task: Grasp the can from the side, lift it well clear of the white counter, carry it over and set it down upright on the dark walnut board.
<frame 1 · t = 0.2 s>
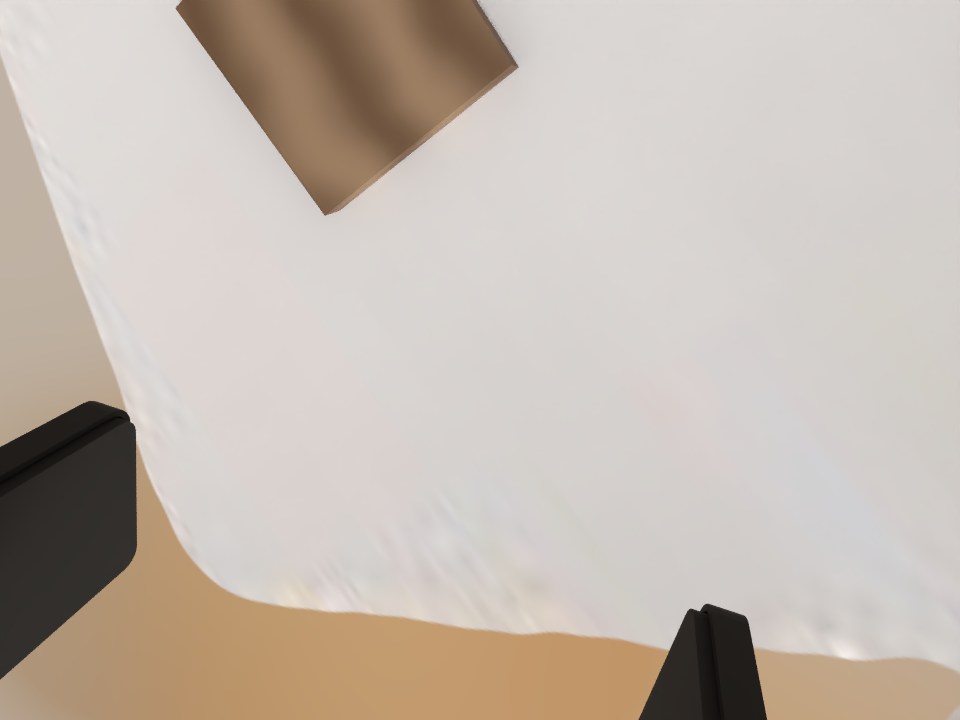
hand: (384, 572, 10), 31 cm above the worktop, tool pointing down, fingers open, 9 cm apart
walnut board: (351, 38, 37), on the worktop
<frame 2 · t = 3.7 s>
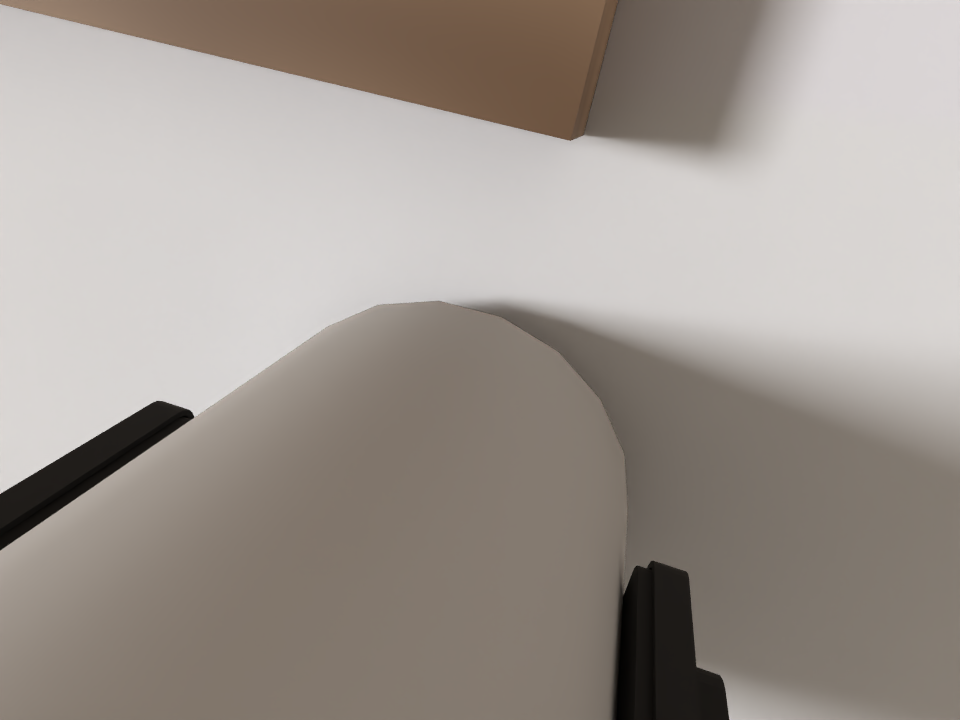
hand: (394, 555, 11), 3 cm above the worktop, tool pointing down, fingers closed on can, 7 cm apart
can: (452, 454, 14), on the worktop, touching gripper
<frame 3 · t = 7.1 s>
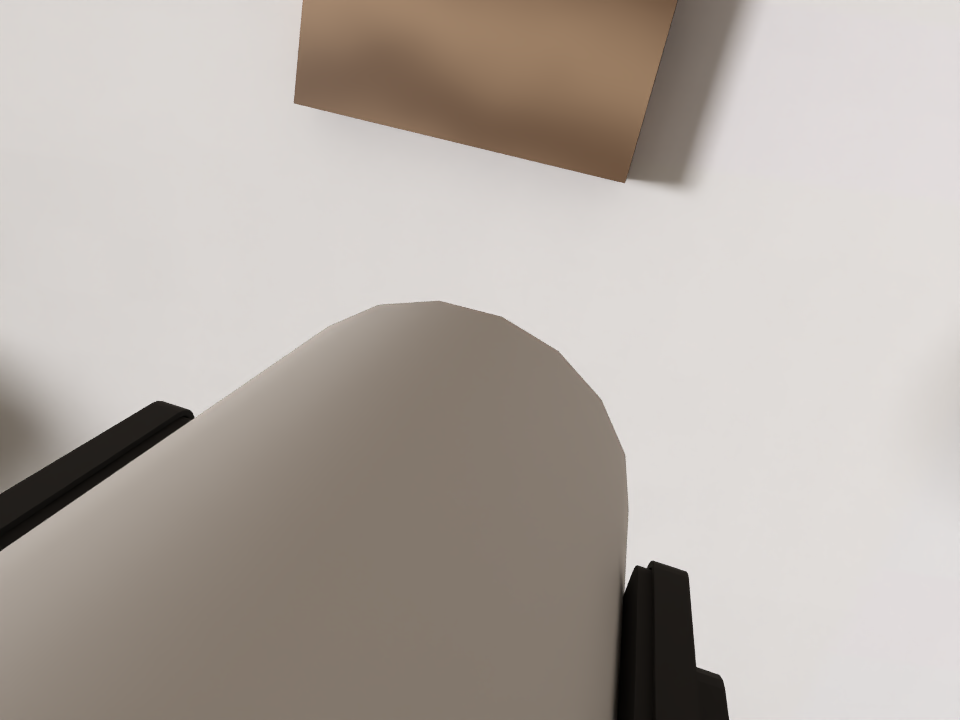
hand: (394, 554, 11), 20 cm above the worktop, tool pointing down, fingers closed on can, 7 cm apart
can: (453, 454, 14), point 16 cm above the worktop, touching gripper
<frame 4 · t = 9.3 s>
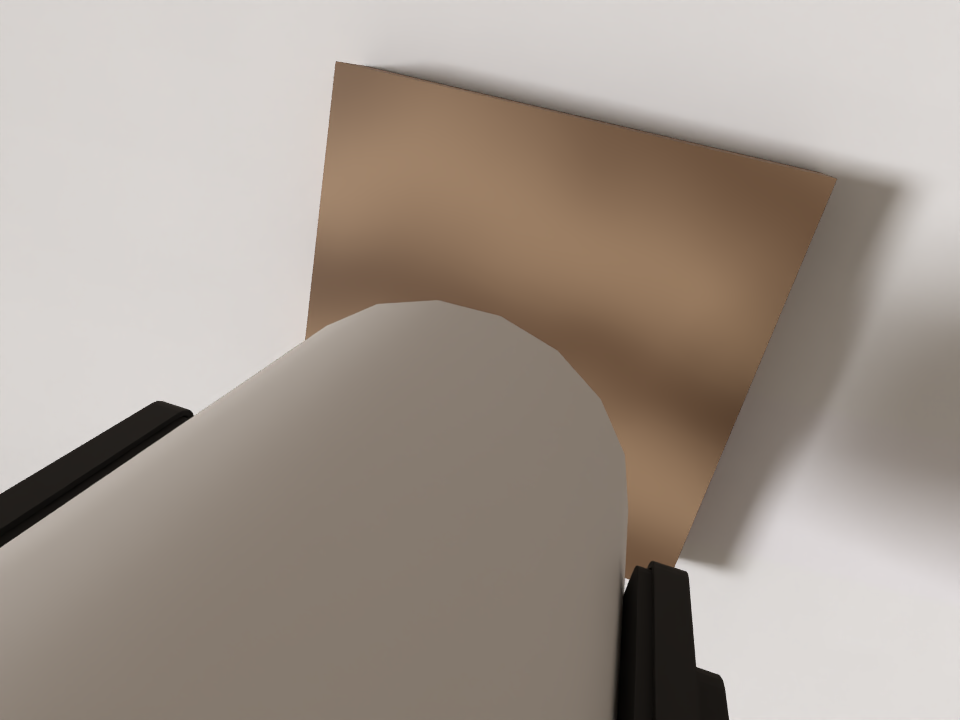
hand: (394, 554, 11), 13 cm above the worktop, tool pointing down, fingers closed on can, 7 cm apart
walnut board: (525, 329, 22), on the worktop
can: (452, 454, 14), point 9 cm above the worktop, touching gripper
when the fingers open (7 cm above the worktop, at t = 11.0 s): can drops 1 cm, resting on walnut board.
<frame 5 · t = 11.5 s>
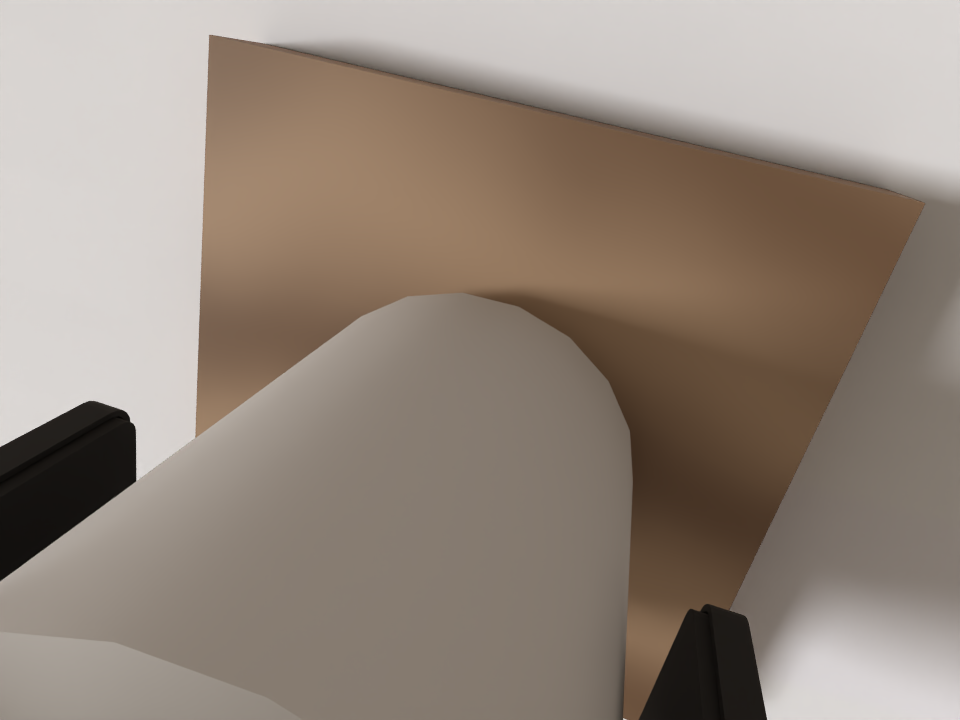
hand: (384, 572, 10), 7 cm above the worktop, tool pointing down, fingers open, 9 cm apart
walnut board: (486, 392, 17), on the worktop
can: (472, 434, 15), point 2 cm above the worktop, touching walnut board
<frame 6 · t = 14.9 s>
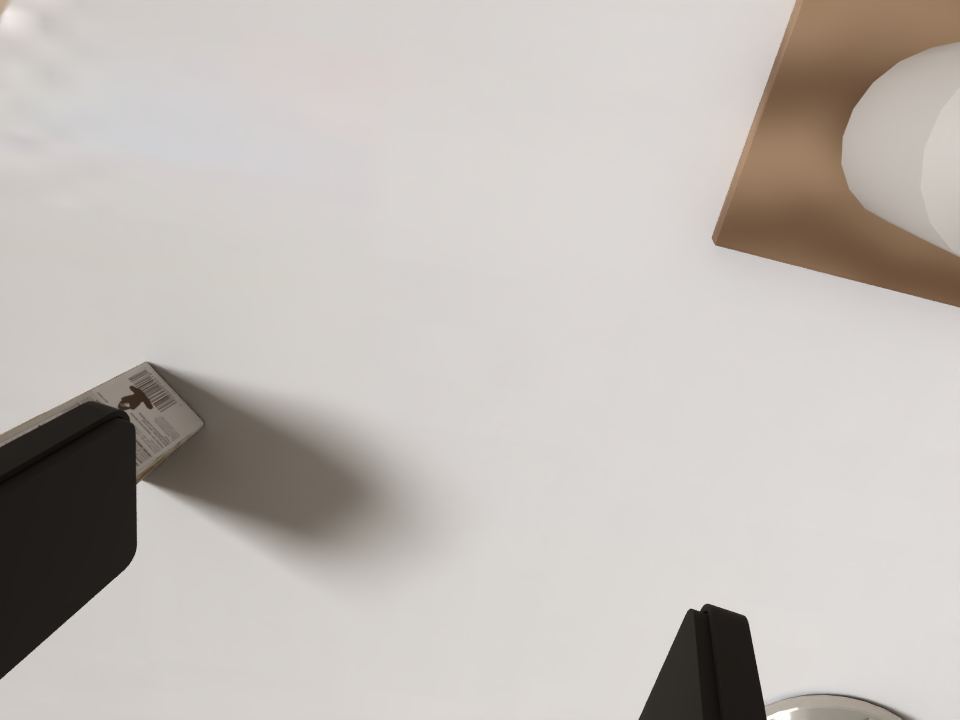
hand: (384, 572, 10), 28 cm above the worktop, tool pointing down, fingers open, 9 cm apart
walnut board: (912, 130, 31), on the worktop
coffee box: (146, 421, 48), on the worktop
can: (928, 138, 29), point 2 cm above the worktop, touching walnut board
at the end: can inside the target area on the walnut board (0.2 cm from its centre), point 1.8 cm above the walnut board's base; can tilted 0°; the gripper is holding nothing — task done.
